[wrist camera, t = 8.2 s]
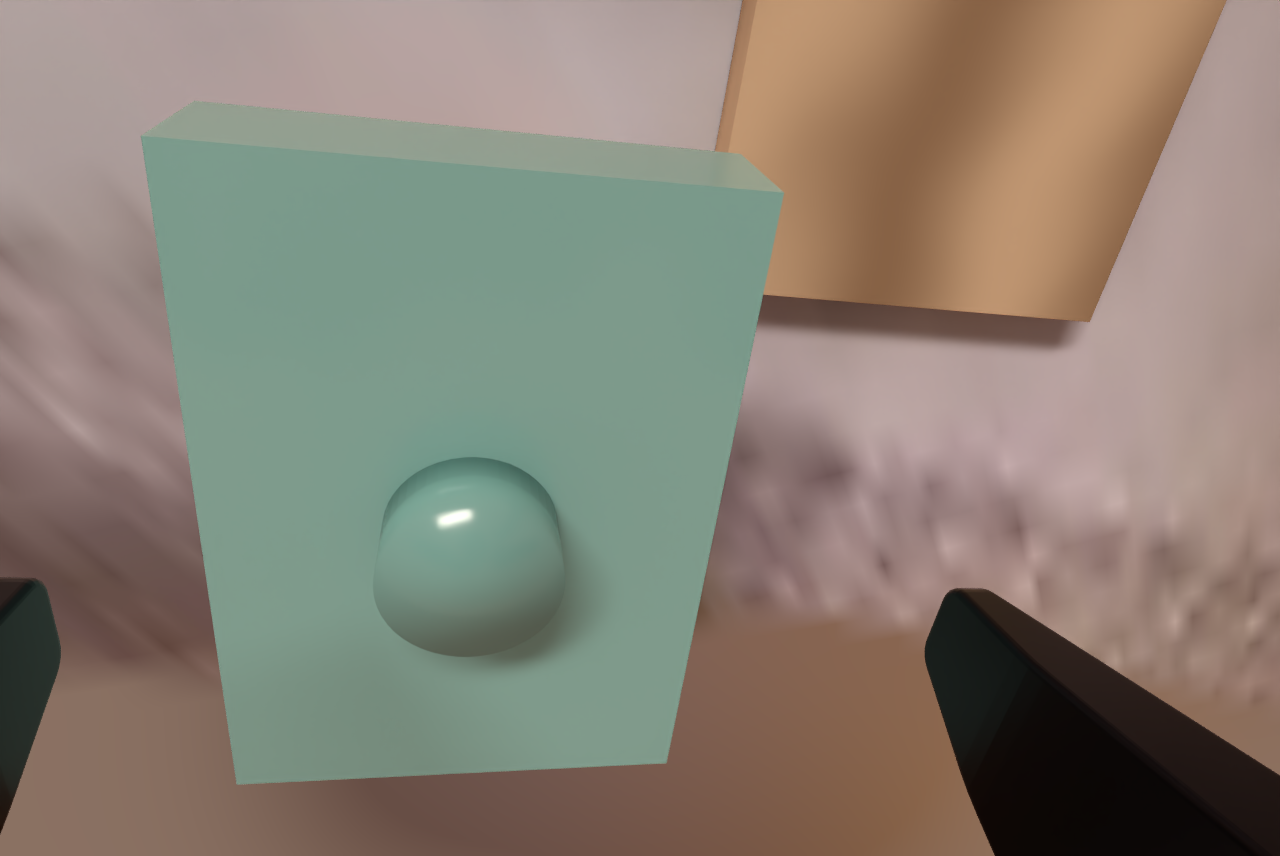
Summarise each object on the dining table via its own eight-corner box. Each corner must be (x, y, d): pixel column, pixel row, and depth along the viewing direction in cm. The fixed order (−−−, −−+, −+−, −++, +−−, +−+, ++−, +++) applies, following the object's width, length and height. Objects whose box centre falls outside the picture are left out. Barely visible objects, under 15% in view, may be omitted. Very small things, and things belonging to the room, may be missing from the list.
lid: (740, 153, 12) (817, 222, 9) (647, 677, 17) (680, 824, 14) (194, 100, 11) (97, 164, 8) (262, 689, 16) (217, 853, 13)
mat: (1253, -154, 18) (1293, -157, 17) (1065, 306, 22) (1089, 321, 22) (790, -259, 16) (808, -269, 15) (692, 273, 20) (701, 289, 19)
